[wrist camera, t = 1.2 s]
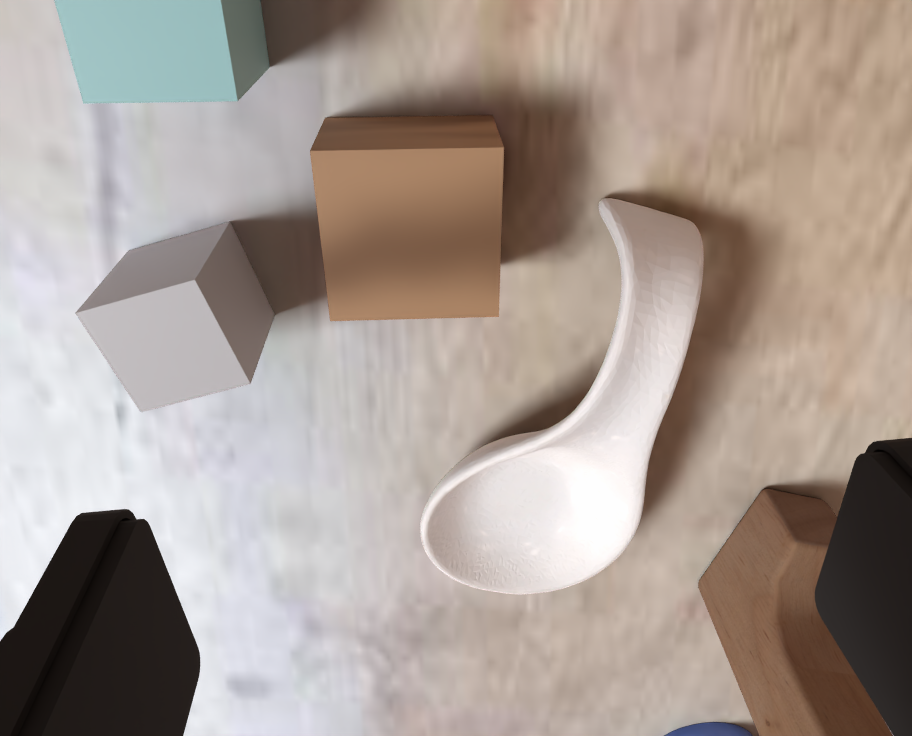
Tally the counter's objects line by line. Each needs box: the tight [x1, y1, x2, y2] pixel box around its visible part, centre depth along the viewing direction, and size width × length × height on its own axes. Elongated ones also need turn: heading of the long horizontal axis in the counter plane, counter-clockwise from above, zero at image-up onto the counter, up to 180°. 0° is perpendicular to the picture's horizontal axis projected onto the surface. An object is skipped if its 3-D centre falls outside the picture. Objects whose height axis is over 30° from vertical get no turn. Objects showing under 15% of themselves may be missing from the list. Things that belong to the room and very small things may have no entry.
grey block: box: [76, 221, 275, 412], centre depth 31 cm, size 5×5×6 cm
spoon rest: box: [420, 198, 704, 594], centre depth 35 cm, size 24×12×7 cm, turn 165°
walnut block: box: [310, 115, 504, 321], centre depth 29 cm, size 7×7×5 cm
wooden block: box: [698, 489, 893, 736], centre depth 37 cm, size 9×4×18 cm, turn 164°
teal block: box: [54, 0, 270, 103], centre depth 24 cm, size 5×5×6 cm
